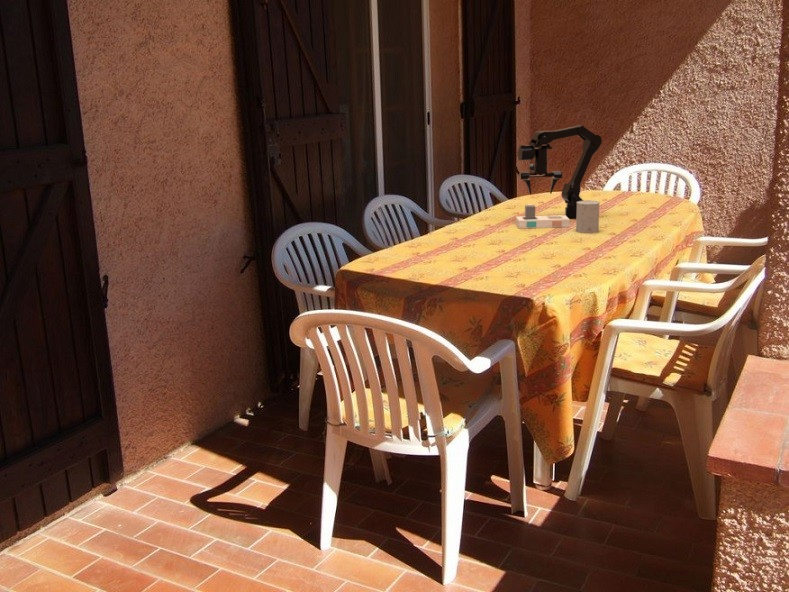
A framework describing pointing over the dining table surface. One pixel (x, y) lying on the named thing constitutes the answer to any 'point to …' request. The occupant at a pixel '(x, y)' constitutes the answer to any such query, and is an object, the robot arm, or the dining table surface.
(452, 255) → the dining table surface
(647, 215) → the dining table surface
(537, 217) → the socket strip
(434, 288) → the dining table surface
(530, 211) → the plug
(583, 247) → the dining table surface
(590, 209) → the stone cylinder
